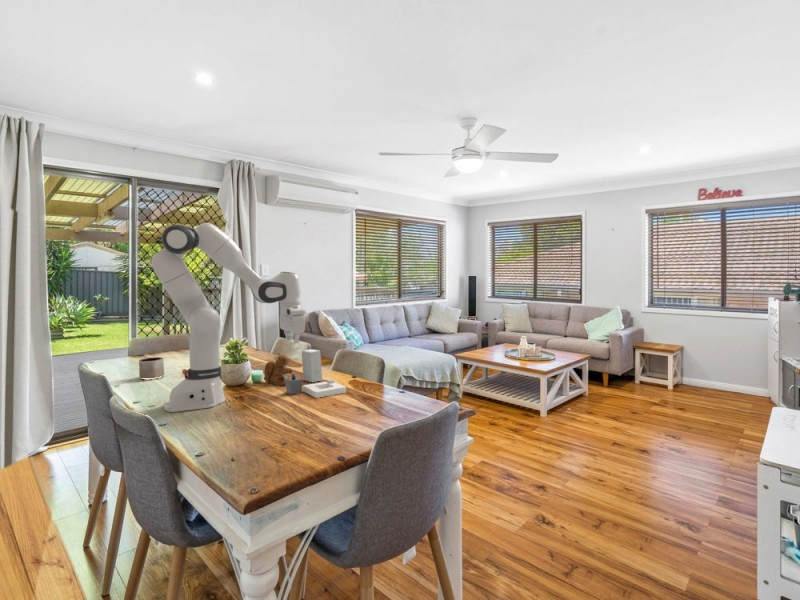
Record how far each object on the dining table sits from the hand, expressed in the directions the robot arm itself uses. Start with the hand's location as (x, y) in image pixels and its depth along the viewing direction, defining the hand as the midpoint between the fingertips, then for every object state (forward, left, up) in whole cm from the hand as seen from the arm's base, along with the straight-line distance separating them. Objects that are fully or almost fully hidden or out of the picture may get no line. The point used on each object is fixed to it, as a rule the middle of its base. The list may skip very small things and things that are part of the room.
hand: (292, 341), depth 192 cm
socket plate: (+11, -8, -22) cm, 26 cm away
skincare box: (+15, +14, -23) cm, 31 cm away
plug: (0, -1, -22) cm, 22 cm away
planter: (-47, +69, -23) cm, 87 cm away
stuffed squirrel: (0, +21, -23) cm, 31 cm away
